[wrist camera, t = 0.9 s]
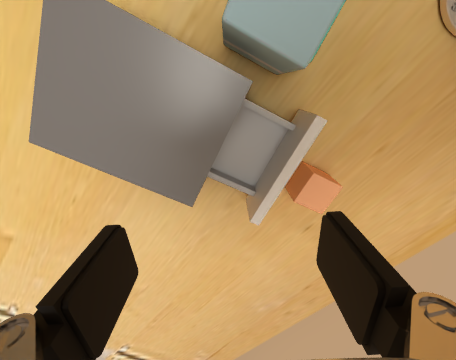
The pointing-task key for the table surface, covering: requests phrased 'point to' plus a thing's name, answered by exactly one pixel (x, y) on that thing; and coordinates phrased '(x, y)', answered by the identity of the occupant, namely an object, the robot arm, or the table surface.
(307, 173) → the block
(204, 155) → the housing
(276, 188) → the light grey drawer
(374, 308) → the robot arm
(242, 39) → the radio
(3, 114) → the table surface
